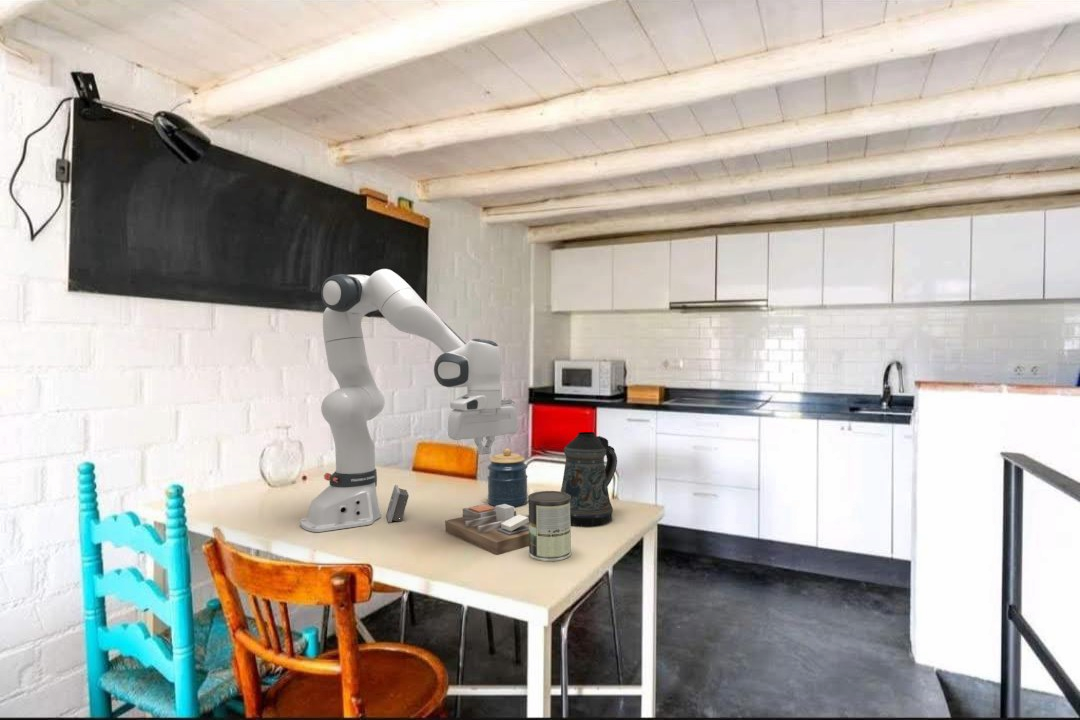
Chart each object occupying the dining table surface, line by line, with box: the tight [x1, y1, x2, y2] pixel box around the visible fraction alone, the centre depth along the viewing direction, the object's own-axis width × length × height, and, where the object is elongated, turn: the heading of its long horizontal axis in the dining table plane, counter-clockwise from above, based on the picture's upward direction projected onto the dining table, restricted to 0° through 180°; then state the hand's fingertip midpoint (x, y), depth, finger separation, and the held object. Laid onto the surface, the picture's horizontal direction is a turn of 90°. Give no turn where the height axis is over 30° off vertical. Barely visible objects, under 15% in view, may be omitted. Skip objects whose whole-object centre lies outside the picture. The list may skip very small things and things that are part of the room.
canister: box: [486, 447, 529, 508], centre depth 188 cm, size 13×13×18 cm
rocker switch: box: [501, 513, 529, 531], centre depth 149 cm, size 6×4×1 cm, turn 130°
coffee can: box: [527, 490, 572, 562], centre depth 140 cm, size 10×10×14 cm
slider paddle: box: [495, 504, 515, 521], centre depth 156 cm, size 3×4×4 cm
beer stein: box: [560, 431, 618, 528], centre depth 170 cm, size 16×19×25 cm
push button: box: [469, 504, 494, 513], centre depth 161 cm, size 5×5×2 cm
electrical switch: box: [386, 484, 410, 524], centre depth 172 cm, size 9×5×9 cm, turn 18°
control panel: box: [444, 503, 529, 556], centre depth 155 cm, size 18×24×6 cm
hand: (484, 453), depth 152 cm, fingers closed
